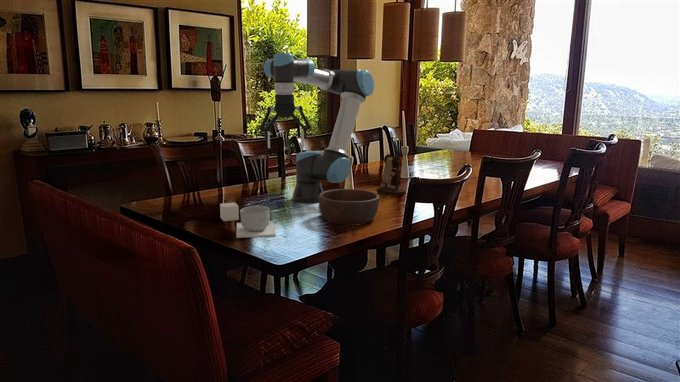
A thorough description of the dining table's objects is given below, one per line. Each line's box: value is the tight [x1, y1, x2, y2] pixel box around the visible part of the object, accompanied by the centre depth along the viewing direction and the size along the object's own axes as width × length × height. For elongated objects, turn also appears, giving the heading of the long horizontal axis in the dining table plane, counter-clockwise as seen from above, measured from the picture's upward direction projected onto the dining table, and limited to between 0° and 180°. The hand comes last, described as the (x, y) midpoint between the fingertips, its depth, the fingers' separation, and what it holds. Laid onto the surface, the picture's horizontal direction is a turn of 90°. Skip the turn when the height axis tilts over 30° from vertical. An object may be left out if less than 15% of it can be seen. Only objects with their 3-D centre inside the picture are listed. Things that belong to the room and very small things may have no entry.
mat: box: [236, 221, 277, 239], centre depth 194 cm, size 14×17×1 cm
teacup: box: [239, 204, 271, 231], centre depth 193 cm, size 14×11×8 cm
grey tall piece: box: [376, 153, 407, 196], centre depth 258 cm, size 15×15×20 cm
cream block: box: [219, 202, 240, 222], centre depth 209 cm, size 6×6×6 cm
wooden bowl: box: [318, 188, 380, 226], centre depth 211 cm, size 25×25×10 cm
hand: (286, 147), depth 208 cm, fingers open, 13 cm apart
